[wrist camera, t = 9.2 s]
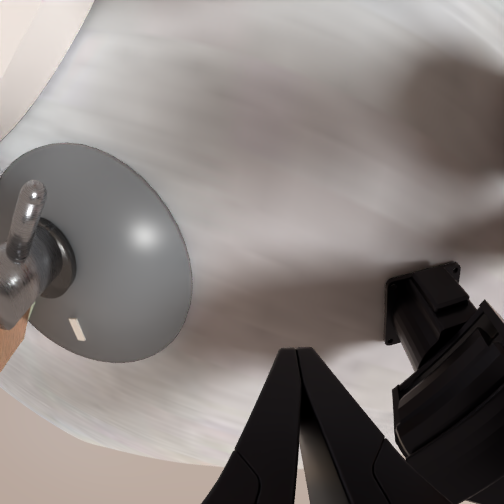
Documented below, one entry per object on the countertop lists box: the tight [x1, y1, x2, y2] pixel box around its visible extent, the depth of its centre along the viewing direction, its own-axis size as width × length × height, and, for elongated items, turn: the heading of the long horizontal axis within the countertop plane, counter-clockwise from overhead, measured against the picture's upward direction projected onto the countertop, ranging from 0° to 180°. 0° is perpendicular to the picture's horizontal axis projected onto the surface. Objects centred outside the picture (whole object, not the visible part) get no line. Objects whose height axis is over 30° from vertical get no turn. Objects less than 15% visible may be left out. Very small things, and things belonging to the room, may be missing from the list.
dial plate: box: [0, 143, 192, 363], centre depth 20 cm, size 19×20×1 cm
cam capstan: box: [0, 180, 77, 372], centre depth 15 cm, size 19×6×10 cm, turn 142°
